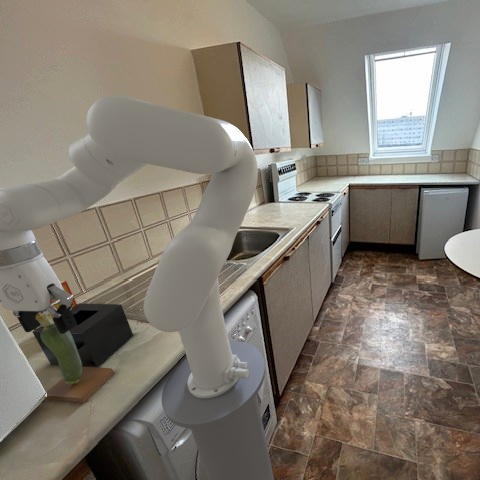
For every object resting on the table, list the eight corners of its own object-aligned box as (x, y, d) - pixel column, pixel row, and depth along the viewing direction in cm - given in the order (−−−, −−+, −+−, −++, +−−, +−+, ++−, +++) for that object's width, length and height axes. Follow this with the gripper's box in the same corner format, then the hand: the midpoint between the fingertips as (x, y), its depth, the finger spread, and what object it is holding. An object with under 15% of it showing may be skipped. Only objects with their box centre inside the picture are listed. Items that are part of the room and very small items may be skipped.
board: (114, 373, 66) (112, 368, 65) (83, 402, 58) (81, 398, 58) (79, 370, 67) (77, 366, 67) (45, 399, 60) (42, 394, 59)
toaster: (133, 335, 79) (121, 304, 75) (92, 372, 67) (75, 337, 63) (92, 333, 81) (78, 303, 77) (45, 368, 69) (26, 334, 65)
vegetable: (80, 372, 65) (45, 303, 57) (96, 373, 64) (62, 303, 57) (62, 388, 61) (21, 316, 53) (78, 389, 60) (40, 316, 53)
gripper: (-51, 263, 48) (-3, 339, 55) (28, 263, 46) (69, 343, 52) (0, 247, 55) (37, 316, 62) (71, 246, 53) (102, 318, 59)
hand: (51, 328), depth 57 cm, fingers open, 7 cm apart
